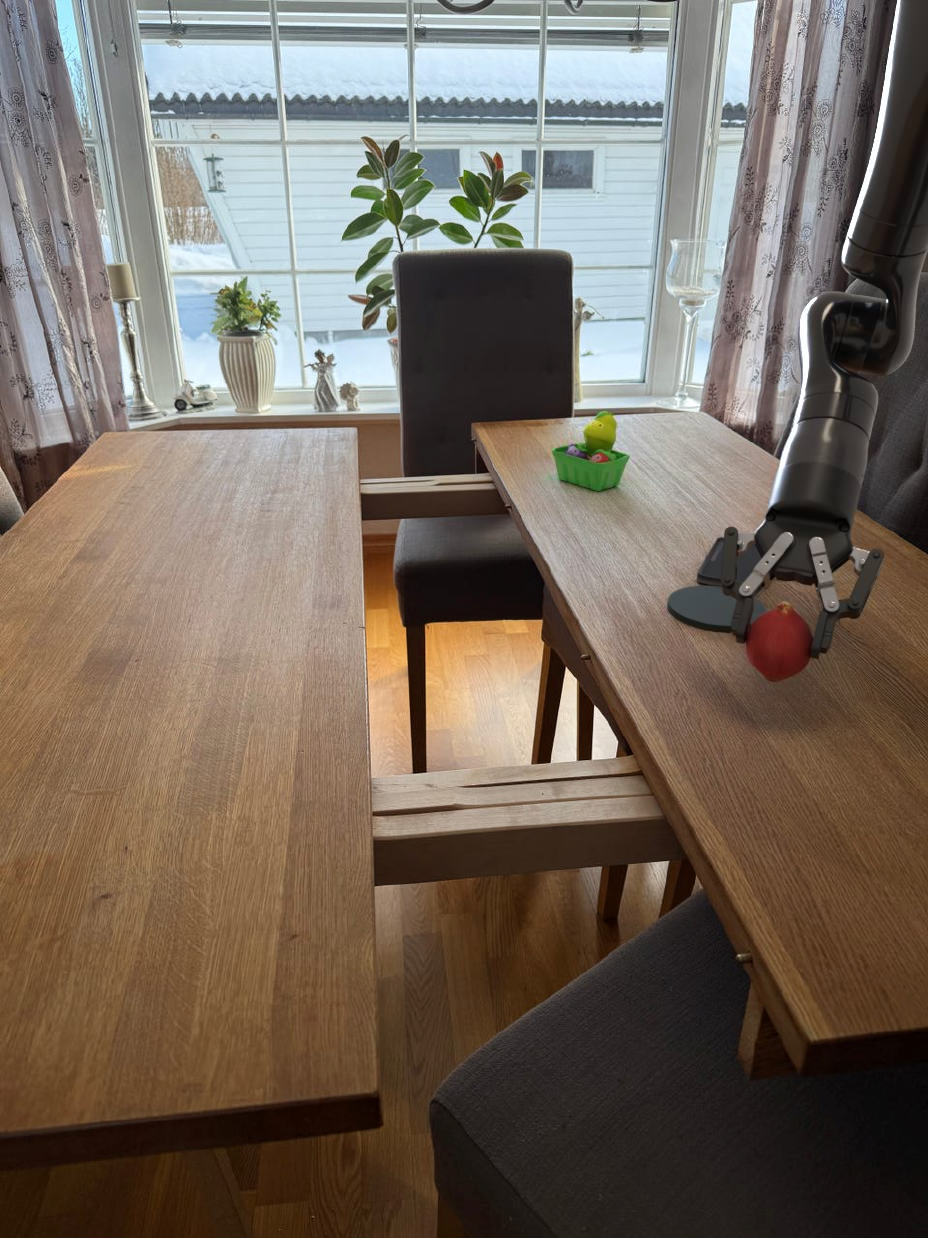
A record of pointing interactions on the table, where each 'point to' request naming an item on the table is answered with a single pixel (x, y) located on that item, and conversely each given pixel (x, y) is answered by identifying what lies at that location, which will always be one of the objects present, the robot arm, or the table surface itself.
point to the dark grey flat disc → (707, 608)
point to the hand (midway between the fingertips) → (777, 647)
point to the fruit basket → (593, 456)
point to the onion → (779, 643)
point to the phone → (713, 564)
